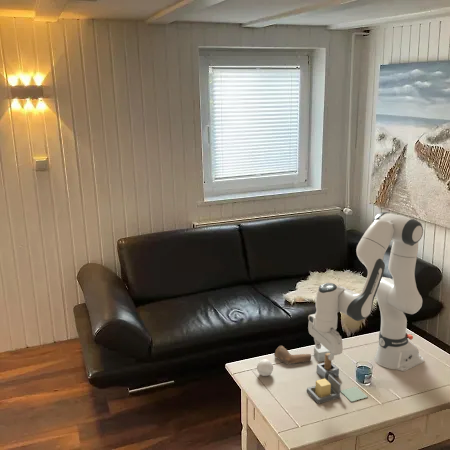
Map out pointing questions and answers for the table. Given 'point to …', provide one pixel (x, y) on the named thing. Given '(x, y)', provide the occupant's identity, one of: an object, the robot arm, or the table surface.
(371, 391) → the table surface
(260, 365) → the white ovoid
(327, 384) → the block
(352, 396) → the pad
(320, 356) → the small box
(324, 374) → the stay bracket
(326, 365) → the rod
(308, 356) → the pipe
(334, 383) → the case
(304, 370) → the table surface
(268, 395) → the table surface
